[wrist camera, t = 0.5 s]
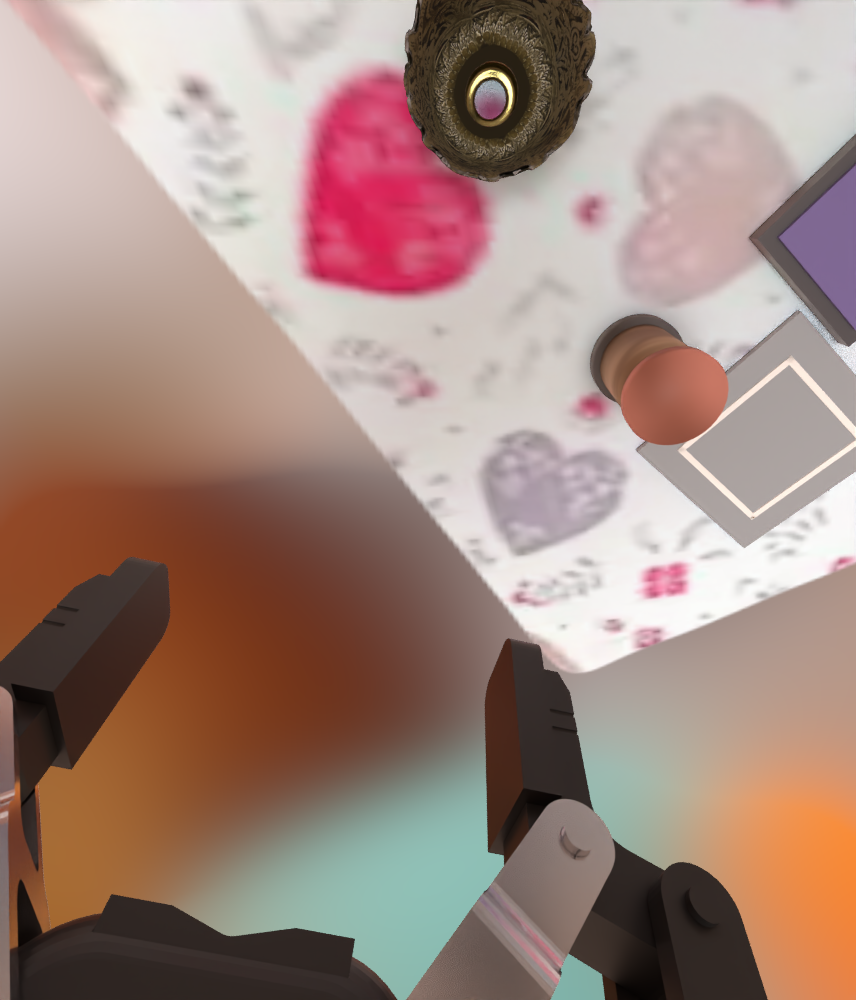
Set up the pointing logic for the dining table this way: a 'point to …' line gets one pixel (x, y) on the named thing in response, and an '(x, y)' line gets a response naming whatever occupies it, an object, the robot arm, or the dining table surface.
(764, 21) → the dining table surface
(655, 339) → the stamp
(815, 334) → the grey square plate
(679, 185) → the dining table surface
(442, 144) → the brown spiky rounded piece
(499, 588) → the dining table surface
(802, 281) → the ink pad
